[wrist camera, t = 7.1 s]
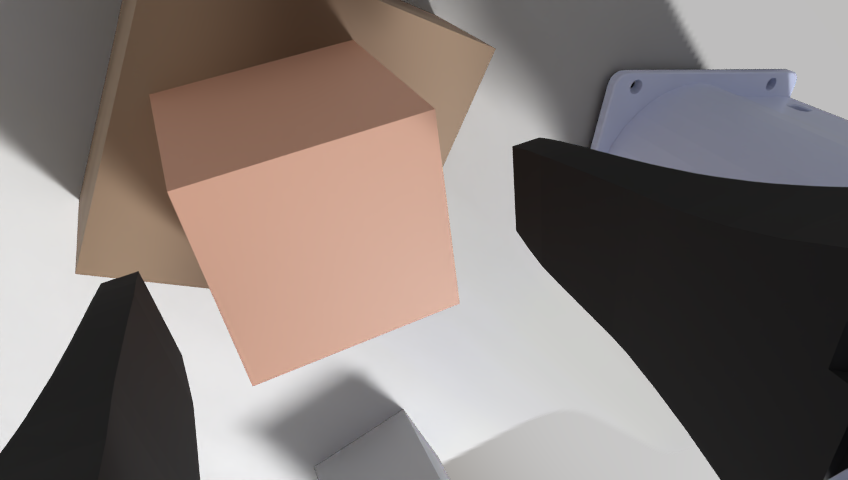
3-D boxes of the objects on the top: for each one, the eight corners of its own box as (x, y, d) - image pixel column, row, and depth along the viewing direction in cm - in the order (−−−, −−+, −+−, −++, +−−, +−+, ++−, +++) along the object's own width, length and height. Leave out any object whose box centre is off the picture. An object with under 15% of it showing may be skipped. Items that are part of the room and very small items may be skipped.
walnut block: (430, 12, 19) (495, 48, 16) (339, 239, 22) (380, 307, 18) (144, -109, 14) (157, -91, 11) (79, 194, 17) (75, 273, 14)
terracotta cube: (352, 39, 14) (435, 109, 11) (385, 205, 17) (459, 303, 13) (149, 94, 13) (166, 191, 9) (219, 262, 16) (252, 386, 12)
